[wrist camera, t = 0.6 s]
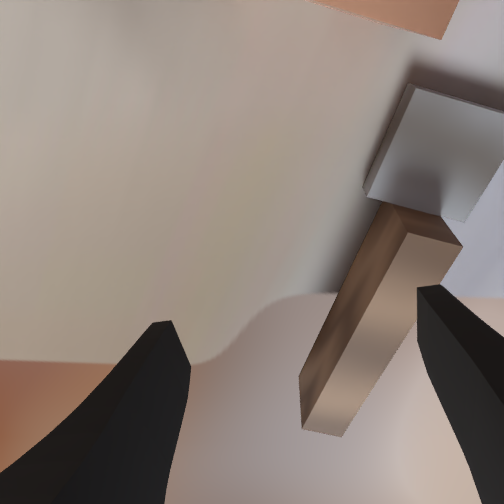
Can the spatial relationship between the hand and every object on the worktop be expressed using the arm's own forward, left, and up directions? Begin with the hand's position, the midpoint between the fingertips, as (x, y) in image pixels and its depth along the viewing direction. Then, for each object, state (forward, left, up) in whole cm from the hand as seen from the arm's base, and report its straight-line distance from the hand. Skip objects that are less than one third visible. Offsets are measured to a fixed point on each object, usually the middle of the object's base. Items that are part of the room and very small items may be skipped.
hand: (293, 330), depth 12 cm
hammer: (-6, +4, -10) cm, 12 cm away
